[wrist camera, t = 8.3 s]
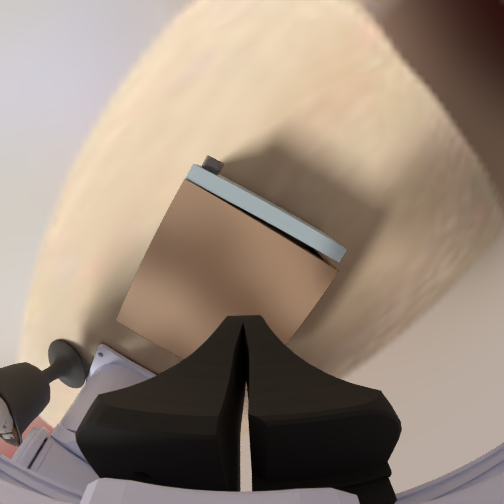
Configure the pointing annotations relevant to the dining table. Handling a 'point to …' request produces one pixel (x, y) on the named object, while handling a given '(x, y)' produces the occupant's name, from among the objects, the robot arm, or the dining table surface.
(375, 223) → the dining table surface
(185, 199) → the cabinet
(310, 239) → the door
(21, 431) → the sundae
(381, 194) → the dining table surface
